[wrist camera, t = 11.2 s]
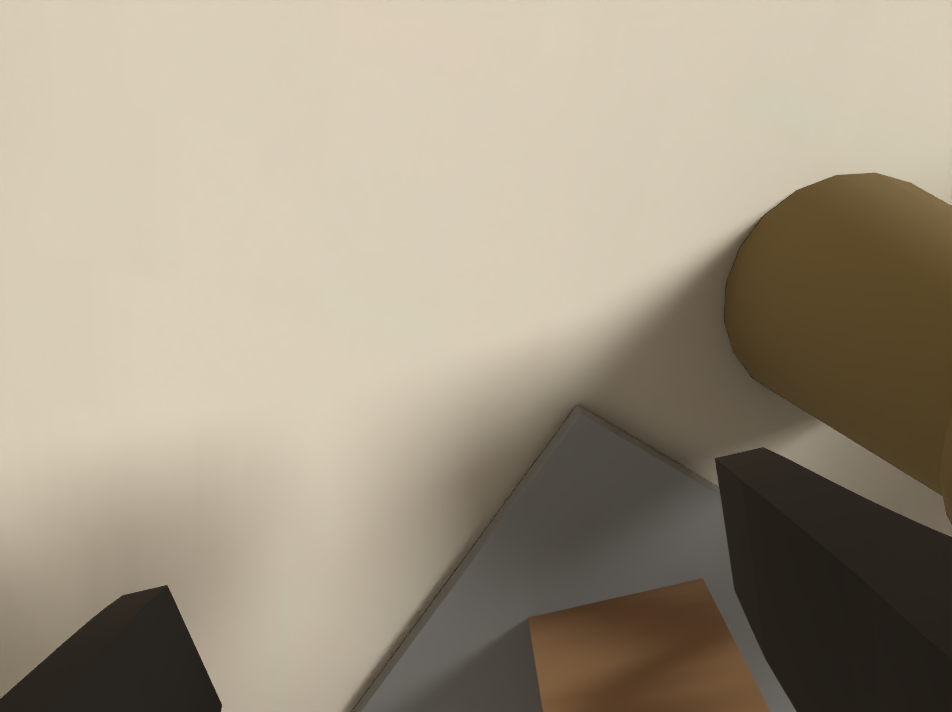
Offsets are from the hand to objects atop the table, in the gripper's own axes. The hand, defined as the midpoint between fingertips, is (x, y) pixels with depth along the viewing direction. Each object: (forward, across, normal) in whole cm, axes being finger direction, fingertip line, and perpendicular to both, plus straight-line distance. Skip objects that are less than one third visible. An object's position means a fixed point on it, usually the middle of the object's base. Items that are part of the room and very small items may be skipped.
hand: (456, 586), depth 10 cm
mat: (+10, -3, +11) cm, 16 cm away
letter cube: (+10, -3, +11) cm, 15 cm away
